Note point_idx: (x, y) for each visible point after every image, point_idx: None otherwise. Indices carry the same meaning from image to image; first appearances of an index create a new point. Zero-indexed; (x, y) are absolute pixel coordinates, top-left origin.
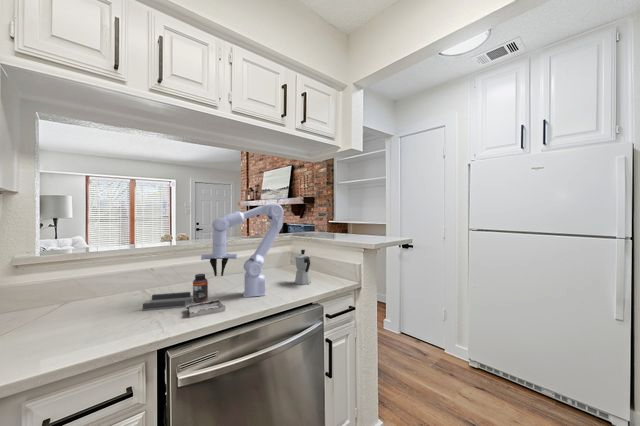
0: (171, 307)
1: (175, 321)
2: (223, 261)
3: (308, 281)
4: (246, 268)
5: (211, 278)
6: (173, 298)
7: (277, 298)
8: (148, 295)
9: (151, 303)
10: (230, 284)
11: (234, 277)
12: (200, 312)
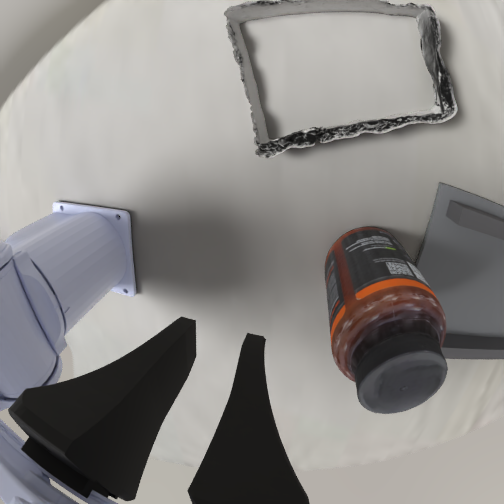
0: (496, 204)
1: (464, 14)
2: (47, 422)
3: None
4: (11, 322)
5: None
6: (460, 332)
7: (26, 152)
8: (489, 389)
9: None
10: (205, 410)
11: (197, 450)
12: (371, 4)
